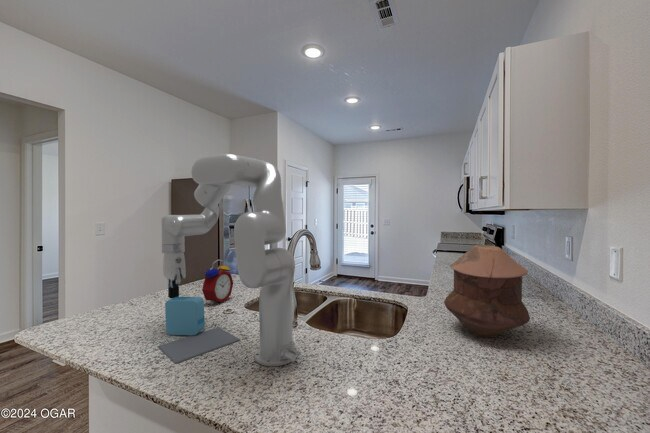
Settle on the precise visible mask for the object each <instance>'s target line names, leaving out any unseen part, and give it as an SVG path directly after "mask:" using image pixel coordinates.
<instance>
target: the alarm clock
mask: <svg viewBox="0 0 650 433" xmlns="http://www.w3.org/2000/svg"><path fill="white" fill-rule="evenodd" d="M218 261H219V262H222V265H218V267H217V268H215V267H214V264H215V263H216V262H218ZM204 277H205V278H204V280H203V281H202V283H203V284H202V289H201V291H202V294H203V296H204V301H208V302H209V301H210V306H213V305H214V303H225V302H226V301H227V300H228V299H229V297H230V296H231V295H232V292H233V286H234V280H233V277H232V273H231V269H230V266H226V263H225V264H224V260H223V259H217V260H215V261H214V262H212V267H211V268H209V269H207V270H206V272H205V275H204Z"/></svg>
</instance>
